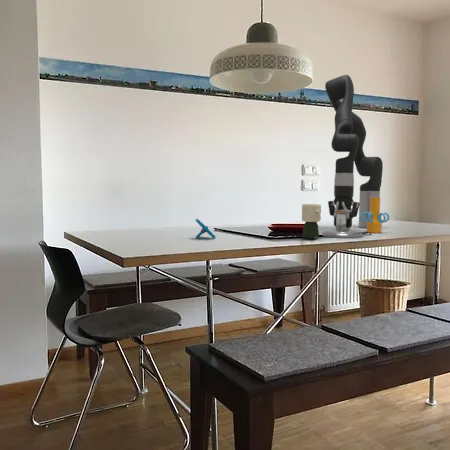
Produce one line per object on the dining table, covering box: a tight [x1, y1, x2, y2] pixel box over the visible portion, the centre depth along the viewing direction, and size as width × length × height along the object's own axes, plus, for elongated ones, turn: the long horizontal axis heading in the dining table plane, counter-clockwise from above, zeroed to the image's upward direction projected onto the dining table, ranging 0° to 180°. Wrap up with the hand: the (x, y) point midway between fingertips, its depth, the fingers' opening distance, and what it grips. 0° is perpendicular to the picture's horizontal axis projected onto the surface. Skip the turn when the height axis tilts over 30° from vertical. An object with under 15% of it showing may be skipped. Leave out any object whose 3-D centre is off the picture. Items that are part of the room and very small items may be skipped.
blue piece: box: [195, 218, 216, 239], centre depth 186 cm, size 11×6×10 cm
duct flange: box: [321, 230, 364, 239], centre depth 198 cm, size 16×16×2 cm
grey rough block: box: [335, 210, 350, 232], centre depth 198 cm, size 6×6×8 cm
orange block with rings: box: [360, 197, 390, 234], centre depth 212 cm, size 12×10×15 cm
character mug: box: [301, 203, 322, 240], centre depth 187 cm, size 11×7×13 cm, turn 25°
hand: (342, 227), depth 198 cm, fingers closed on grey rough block, 5 cm apart
